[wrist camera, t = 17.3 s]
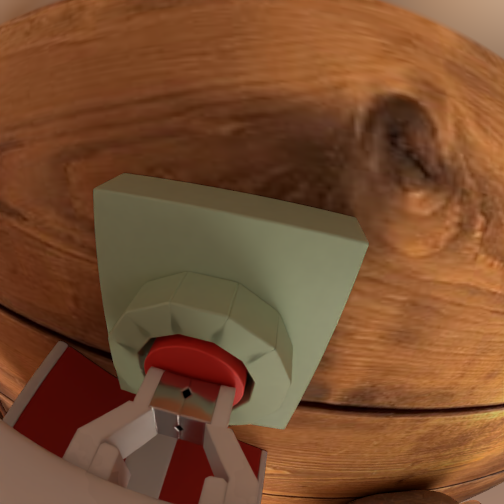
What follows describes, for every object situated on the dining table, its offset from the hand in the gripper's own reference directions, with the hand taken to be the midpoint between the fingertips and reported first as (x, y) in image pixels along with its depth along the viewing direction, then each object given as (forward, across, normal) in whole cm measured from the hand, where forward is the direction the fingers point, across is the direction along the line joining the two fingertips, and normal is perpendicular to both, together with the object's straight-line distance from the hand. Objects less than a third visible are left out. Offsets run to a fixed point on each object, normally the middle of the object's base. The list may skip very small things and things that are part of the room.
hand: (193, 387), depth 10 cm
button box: (+4, 0, 0) cm, 4 cm away
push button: (+2, 0, 0) cm, 2 cm away
